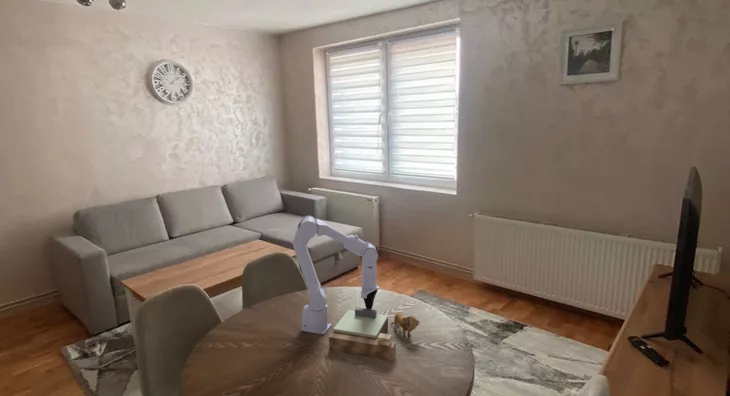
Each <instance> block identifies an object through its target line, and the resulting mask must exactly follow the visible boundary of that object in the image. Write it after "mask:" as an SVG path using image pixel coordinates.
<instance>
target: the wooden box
mask: <svg viewBox="0 0 730 396" xmlns="http://www.w3.org/2000/svg"><path fill="white" fill-rule="evenodd" d="M388 329H389V318H388V319H387V320H386V322H385V324H384V326H383V327H382V329H381V331H380V333H383V334H388V333H387V332H388V331H389V330H388ZM380 333H379V334H380ZM379 334H378V336H379ZM378 336H377V338H371V337H365V336H359V335H353V334H347V333H341V332H335V331H333V330H332V333H331V334H330V335H329V336H328V347H329V349H328V350H329V351H332V352H339V353H344V354H350V355H355V356H361V357H365V358H372V359H378V360H382V361H387V362H388V361H389V362H393V361H394V359H395V357H396V355H397V354H396V350H397V347H396V345H397V344H396V343H397V341H393V340H391V344H390V345H389V346H386V345H380V344H378Z"/></svg>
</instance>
